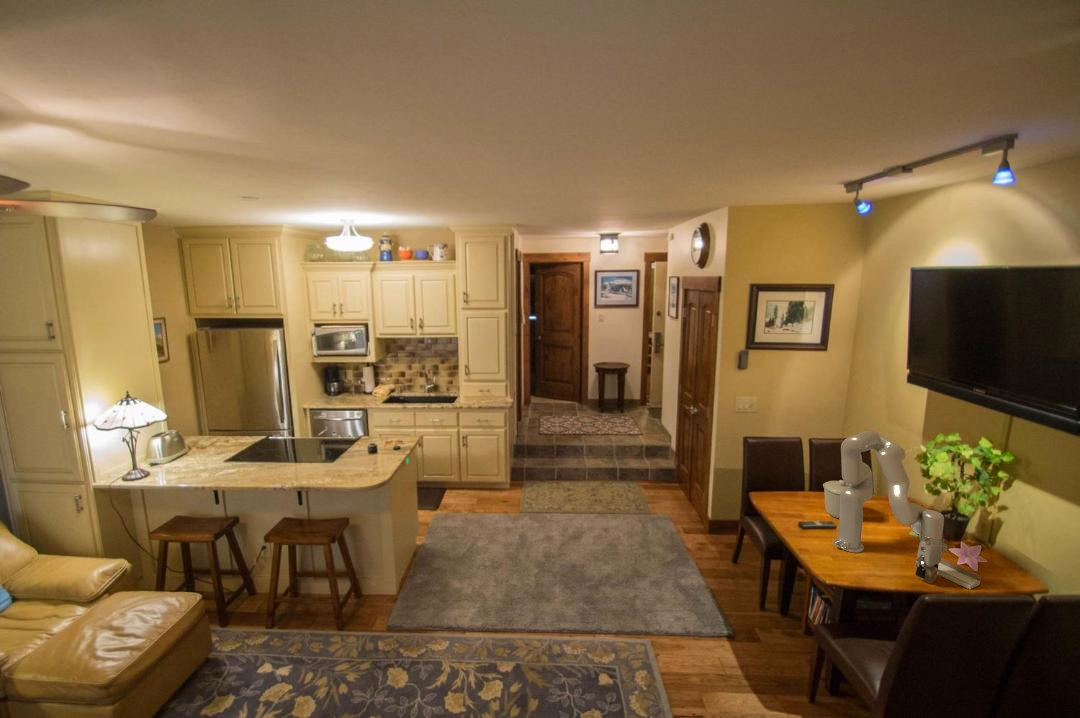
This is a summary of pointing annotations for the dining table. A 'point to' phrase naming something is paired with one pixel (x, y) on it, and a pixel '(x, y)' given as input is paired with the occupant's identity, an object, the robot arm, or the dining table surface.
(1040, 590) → the dining table surface
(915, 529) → the tin
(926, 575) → the crate
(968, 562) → the lily
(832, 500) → the canister
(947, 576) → the bar
